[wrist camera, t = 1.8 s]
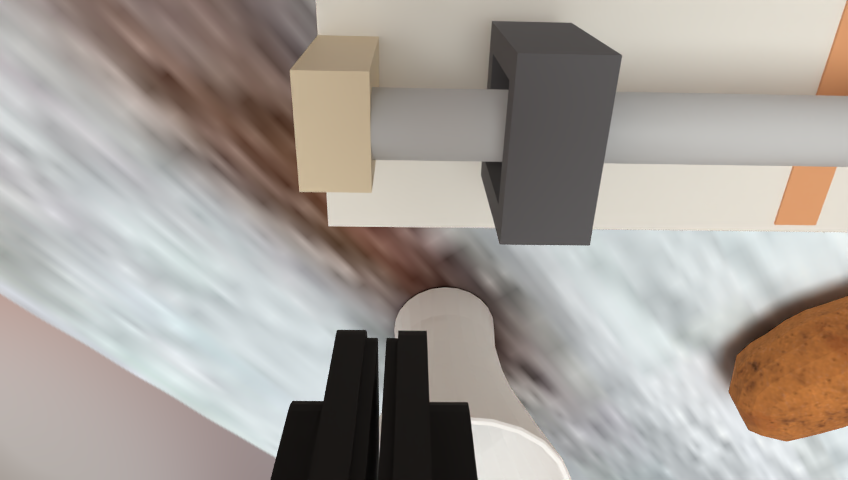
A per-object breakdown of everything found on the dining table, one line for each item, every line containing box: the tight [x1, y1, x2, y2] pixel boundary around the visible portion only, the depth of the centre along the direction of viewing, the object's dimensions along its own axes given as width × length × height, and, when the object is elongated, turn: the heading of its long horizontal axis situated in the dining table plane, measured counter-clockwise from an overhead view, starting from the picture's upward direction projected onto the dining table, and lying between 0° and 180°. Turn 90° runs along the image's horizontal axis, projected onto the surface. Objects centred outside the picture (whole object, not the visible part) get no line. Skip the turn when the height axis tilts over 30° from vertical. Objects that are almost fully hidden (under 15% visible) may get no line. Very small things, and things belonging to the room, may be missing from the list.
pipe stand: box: [290, 0, 848, 232], centre depth 28 cm, size 16×36×9 cm, turn 89°
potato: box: [729, 296, 848, 441], centre depth 37 cm, size 7×13×7 cm, turn 118°
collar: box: [481, 21, 622, 245], centre depth 26 cm, size 7×4×7 cm, turn 179°
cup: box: [379, 287, 571, 480], centre depth 34 cm, size 10×10×14 cm
